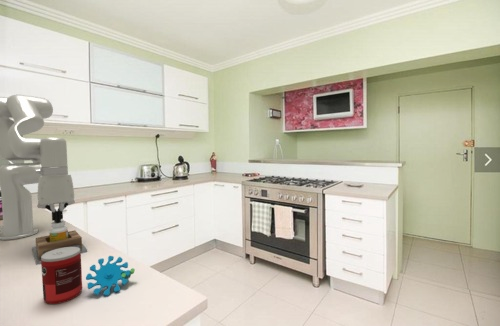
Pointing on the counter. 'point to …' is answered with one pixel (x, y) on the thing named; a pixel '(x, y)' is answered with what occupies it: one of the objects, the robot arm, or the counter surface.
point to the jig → (57, 242)
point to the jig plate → (38, 260)
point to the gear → (109, 275)
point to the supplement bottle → (58, 231)
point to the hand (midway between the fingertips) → (57, 221)
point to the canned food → (61, 274)
